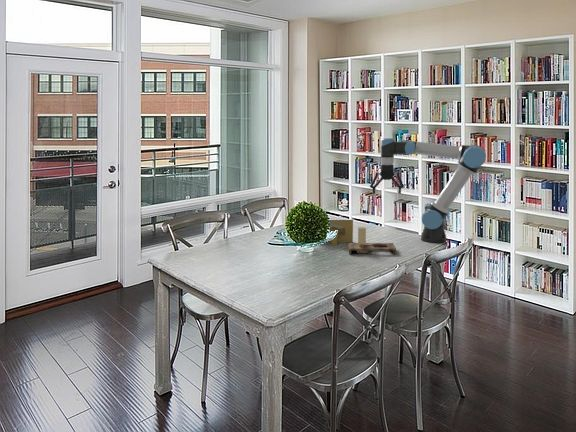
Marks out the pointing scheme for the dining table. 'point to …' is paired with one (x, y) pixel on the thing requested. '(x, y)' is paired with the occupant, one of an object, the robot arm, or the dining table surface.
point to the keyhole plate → (372, 247)
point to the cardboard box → (342, 230)
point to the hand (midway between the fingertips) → (386, 199)
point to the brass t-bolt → (362, 239)
